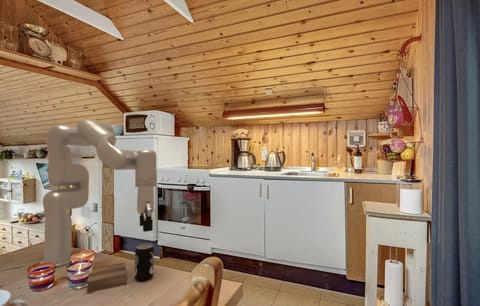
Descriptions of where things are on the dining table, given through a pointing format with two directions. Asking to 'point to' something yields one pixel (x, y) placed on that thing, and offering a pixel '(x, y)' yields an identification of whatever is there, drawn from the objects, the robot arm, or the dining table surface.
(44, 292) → the dining table surface
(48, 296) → the dining table surface
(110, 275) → the walnut base block
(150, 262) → the beverage can
